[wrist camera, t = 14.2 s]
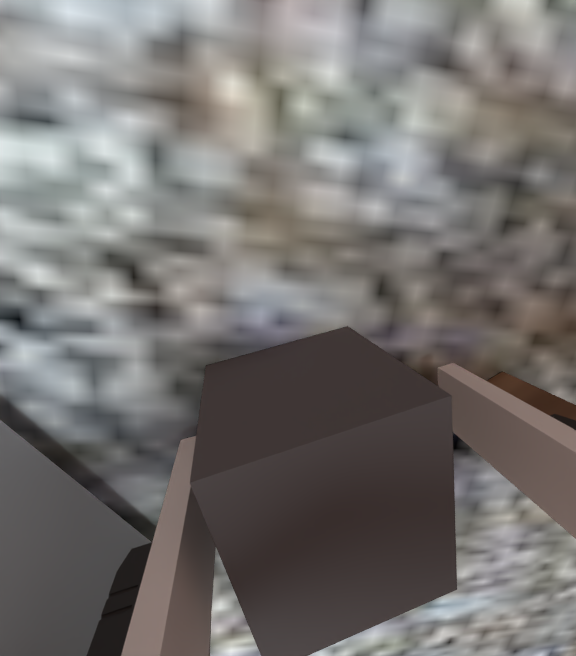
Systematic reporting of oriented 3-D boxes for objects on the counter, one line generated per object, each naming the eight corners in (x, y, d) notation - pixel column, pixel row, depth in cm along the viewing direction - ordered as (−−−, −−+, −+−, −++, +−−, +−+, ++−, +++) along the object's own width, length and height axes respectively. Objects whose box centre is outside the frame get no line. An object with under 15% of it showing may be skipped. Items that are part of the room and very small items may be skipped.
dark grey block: (365, 454, 14) (457, 589, 9) (249, 495, 14) (268, 673, 8) (346, 325, 12) (451, 395, 7) (205, 364, 11) (189, 482, 6)
